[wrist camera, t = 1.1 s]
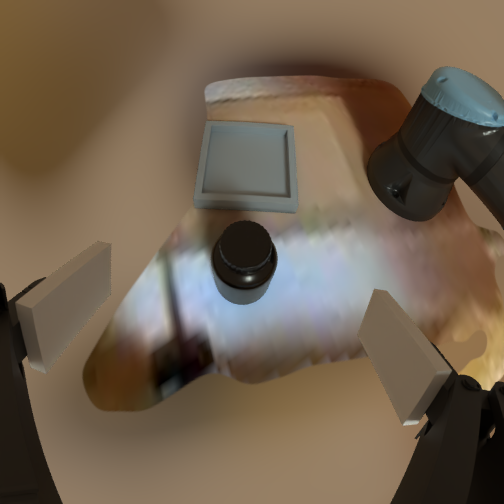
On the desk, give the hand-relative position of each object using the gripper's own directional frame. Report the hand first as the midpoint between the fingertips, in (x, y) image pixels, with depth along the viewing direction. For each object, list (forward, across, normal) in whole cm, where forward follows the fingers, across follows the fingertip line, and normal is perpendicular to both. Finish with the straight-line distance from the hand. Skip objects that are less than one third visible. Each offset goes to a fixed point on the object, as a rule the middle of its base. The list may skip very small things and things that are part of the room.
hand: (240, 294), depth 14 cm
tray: (+34, -1, +4) cm, 34 cm away
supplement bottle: (+23, +1, -9) cm, 25 cm away
